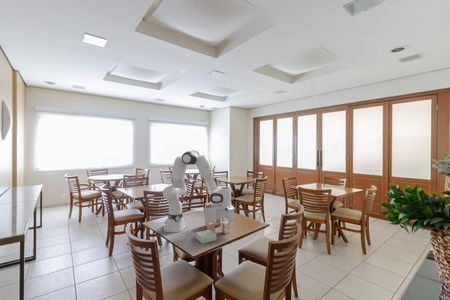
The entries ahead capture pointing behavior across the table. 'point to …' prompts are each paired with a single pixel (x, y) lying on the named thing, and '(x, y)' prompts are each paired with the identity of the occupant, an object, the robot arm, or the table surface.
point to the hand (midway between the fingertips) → (226, 223)
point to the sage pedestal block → (206, 236)
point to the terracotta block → (211, 226)
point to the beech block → (225, 227)
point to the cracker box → (212, 214)
